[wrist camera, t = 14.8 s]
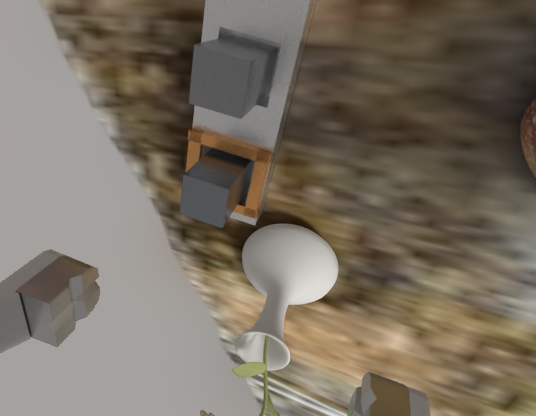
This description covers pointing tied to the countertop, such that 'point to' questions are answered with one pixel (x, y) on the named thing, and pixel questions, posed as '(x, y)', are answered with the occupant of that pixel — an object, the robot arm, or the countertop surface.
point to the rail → (270, 107)
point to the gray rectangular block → (215, 186)
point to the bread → (529, 135)
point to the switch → (231, 74)
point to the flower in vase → (280, 293)
